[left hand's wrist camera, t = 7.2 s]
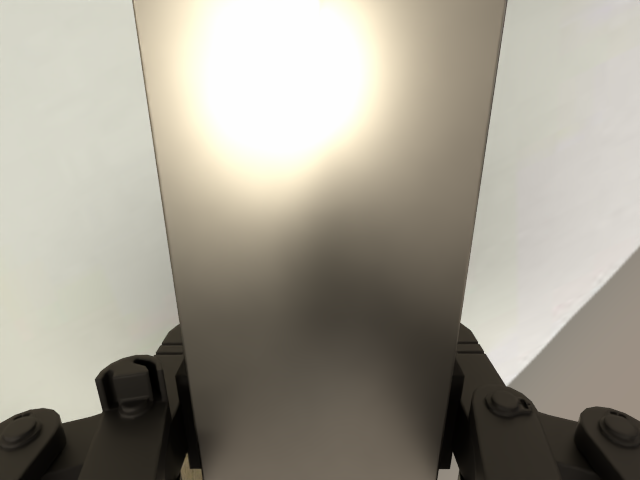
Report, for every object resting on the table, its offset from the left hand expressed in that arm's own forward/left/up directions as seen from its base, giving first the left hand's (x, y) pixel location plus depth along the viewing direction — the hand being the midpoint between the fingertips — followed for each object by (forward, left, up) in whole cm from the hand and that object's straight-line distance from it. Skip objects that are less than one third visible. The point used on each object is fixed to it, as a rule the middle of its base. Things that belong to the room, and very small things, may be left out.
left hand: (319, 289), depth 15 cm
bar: (+7, +4, -1) cm, 8 cm away
